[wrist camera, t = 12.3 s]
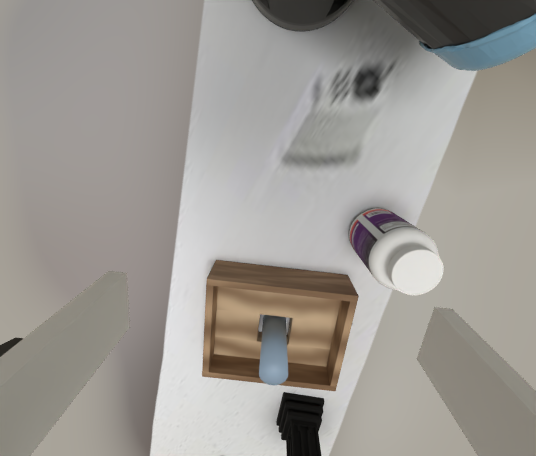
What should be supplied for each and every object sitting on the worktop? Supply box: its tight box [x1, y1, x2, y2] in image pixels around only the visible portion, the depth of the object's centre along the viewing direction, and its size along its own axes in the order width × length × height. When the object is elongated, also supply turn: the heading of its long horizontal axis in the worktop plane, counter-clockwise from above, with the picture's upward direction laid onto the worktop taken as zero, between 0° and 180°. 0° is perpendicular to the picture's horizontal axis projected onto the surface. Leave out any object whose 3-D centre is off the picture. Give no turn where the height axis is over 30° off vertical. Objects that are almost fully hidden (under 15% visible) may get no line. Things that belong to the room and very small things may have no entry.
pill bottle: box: [349, 208, 443, 295], centre depth 37 cm, size 8×8×14 cm
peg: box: [259, 315, 288, 385], centre depth 44 cm, size 4×4×12 cm
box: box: [202, 260, 358, 391], centre depth 46 cm, size 18×22×6 cm
